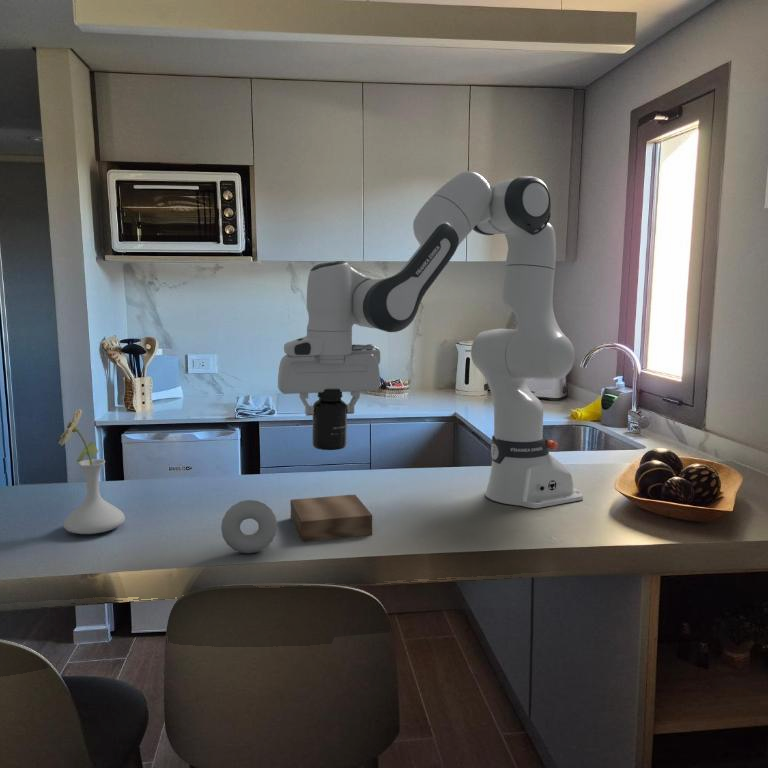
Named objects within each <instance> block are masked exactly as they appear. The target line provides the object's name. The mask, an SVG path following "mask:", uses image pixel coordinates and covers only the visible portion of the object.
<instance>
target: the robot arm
mask: <svg viewBox="0 0 768 768" xmlns="http://www.w3.org/2000/svg"><path fill="white" fill-rule="evenodd" d="M551 201H552V199H551V194H550V192H549V188H548V187H547V185H546V183H545V181H543V180H542V179H540V178H538V177H535V176H528V175H525V176H517V177H516V178H509V179H506V180H505V179H504V180H501V181H498V182H496V183H494V184H491V185H490V184H489V182H488V181H487V179H485V177H483V176H482V175H481V174H479V173H478V172H475V171H469V170H467V171H462V172H460V173H458V174H457V175H455V176H454V177H452V178H451V179H450V180H449V181H447V182H446V183H445V184H444V185H442V186H441V187H440V188H438V190H437V191H435V193H434V194H433V195H431V196H430V198H429V199H427V201H426V202H425V203H424V204H423V206H422V207H421V208H420V209H419V211H418V212H417V214H416V216H415V218H414V219H413V224H412V226H413V227H412V228H413V234H414V237H415V239H416V240H417V242H418V244H419V247H418V248H417V249H416V251H415V252H414V253H413V254H412V255H411V257H410V258H409V260H408V261H407V262H406V263H405V264H404V266H403V267H402V268H401V269H400V271H399V272H397V273H395V274H394V275H392V276H389V277H386V278H385V277H384V278H379V279H375V278H371V277H369V276H367V275H365V274H363V273H360V272H359V271H358V270H356V269H355V268H353V267H352V266H351V265H350V264H349V263H348V262H347V261H344V260H336V261H330V262H323V263H319V264H316V265H314V266H313V267H312V268H311V269H310V270H309V274H308V278H307V286H306V310H307V314H308V322H307V326H306V336H302V337H299V338H297V339H294V340H291V341H288V342H286V343H284V344H283V345H284V346H283V351H284V353H285V355H283V357H282V358H281V360H280V362H279V365H278V366H279V367H278V376H277V388H278V390H279V392H280V393H282V394H283V395H288V394H289V395H292V394H293V395H294V394H299V399H300V401H301V402H302V404H303V406H304V412H305V416H307V417H309V416H312V417H313V415H314V412H313V411H314V406H313V405H310V404H309V402H308V401H307V400H308V399H309V394H315V393H316V394H318V393H322V392H324V389H340V392H342V393H344V392H345V393H346V392H347V393H348V392H350V396H352V398H351V399H350V401H349V402H348V403H346V405H347V415H352V414H353V415H354V414H355V406H356V404H357V402H358V401H359V399H360V396H361V392H373V391H375V392H376V391H378V390H379V388H380V386H381V375H380V374H381V373H380V367H379V365H380V363H381V351H380V349H379V348H378V347H376V346H375V345H374V344H372V343H371V344H353V326H354V325H356V326H359V327H364V328H370V329H377V330H381V331H383V332H386V333H396V332H401V331H403V330H405V329H406V328H407V327H408V326H410V324H411V323H412V322H413V321H414V319H415V317H416V316H417V313H418V311H419V308H420V305H421V302H422V300H423V298H424V296H425V295H426V293H427V291H428V290H429V289H430V288H431V286H432V285H433V283H435V281H436V279H437V278H438V276H440V274H441V273H442V271H443V270H444V268H446V266H447V265H448V263H449V262H450V261H451V259H452V257H453V256H454V255H455V253H456V251H457V249H458V247H459V246H460V245H461V243H462V242H463V241H464V240H465V239H466V238H467V237H468V236H469V234H470V233H471V232H472V231H474V232H475V233H477V234H479V235H484V236H494V235H503V234H504V236H505V239H506V241H507V242H506V243H507V253H506V260H505V267H504V277H503V286H502V295H501V296H502V297H501V298H502V302H503V304H504V305H505V307H507V308H508V309H509V311H511V312H513V314H514V315H515V318H516V323H517V329H514V328H495V329H490V330H488V329H487V330H484V331H481V332H479V333H478V334H477V335H476V336H475V338H474V340H473V341H472V344H471V349H470V356H471V360H472V363H473V365H474V366H475V367H476V369H477V370H478V371H480V373H481V375H482V376H483V377H484V379H485V381H486V383H487V385H488V388H489V391H490V393H491V397H492V402H493V434H492V436H491V448H490V452H491V453H490V454H491V455H490V457H491V460H492V461H491V468H490V473H489V474H490V475H489V479H488V483H487V485H486V490H485V493H484V494H485V497H486V498H488V499H490V500H491V501H494V502H496V503H501V504H505V505H512V506H513V505H514V506H521V507H525V508H528V509H529V508H530V509H538V508H539V509H540V508H545V507H551V506H557V505H562V504H567V503H568V504H569V503H572V502H578V501H582V500H583V499H584V497H583V496H584V495H583V493H582V491H581V490H579V489H578V488H576V487H574V483H573V481H574V480H573V475H572V473H571V471H570V469H569V468H568V467H566V466H565V465H564V464H563V463H561V462H560V461H559V460H557V458H556V457H554V456H553V455H552V454H550V452H549V451H550V450H552V451H556V450H557V448H559V447H558V446H559V444H558V442H557V441H554V440H552V439H549V440H548V439H546V438H545V437H543V432H544V431H543V429H544V427H543V426H544V406H543V404H542V402H541V400H540V399H539V398H538V397H537V396H536V395H535V394H533V393H532V391H531V390H530V388H529V385H528V382H527V380H533V381H552V380H560V379H563V378H565V377H566V376H568V374H569V373H570V371H571V370H572V368H573V366H574V362H575V359H576V356H575V355H576V353H575V348H574V345H573V343H572V341H571V340H570V339H569V338H568V336H566V335H565V333H564V332H563V331H562V330H561V328H560V326H559V324H558V321H557V319H556V316H555V311H554V303H553V300H554V283H555V274H556V273H555V272H556V260H557V245H556V244H557V243H556V242H557V241H556V231H555V228H554V226H553V225H552V224H551V223H549V222H550V218H551V209H552V202H551ZM306 399H307V400H306ZM549 449H550V450H549Z"/></svg>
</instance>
